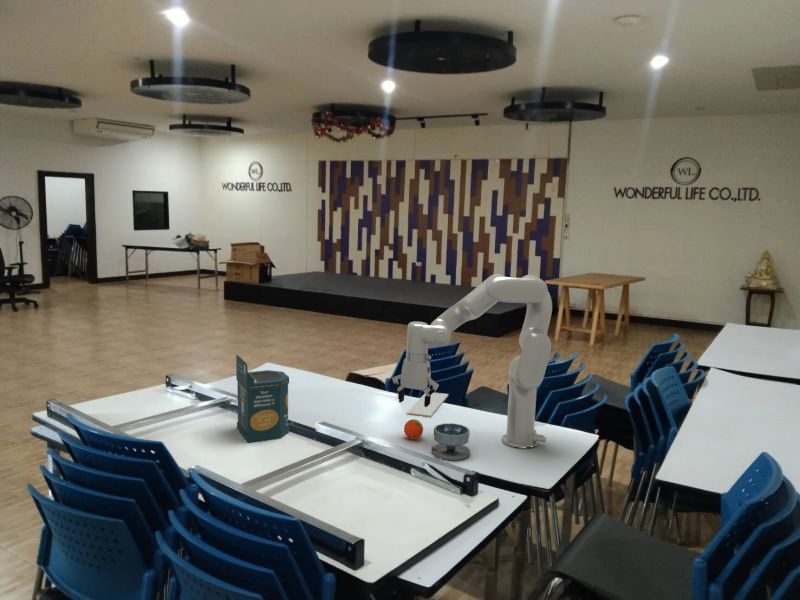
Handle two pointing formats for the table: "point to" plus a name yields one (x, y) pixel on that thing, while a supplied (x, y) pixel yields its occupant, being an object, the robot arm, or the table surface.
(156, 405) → the table surface
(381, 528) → the table surface
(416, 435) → the clementine
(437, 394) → the baseboard molding
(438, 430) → the stand
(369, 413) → the table surface
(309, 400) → the table surface
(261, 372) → the donation box
